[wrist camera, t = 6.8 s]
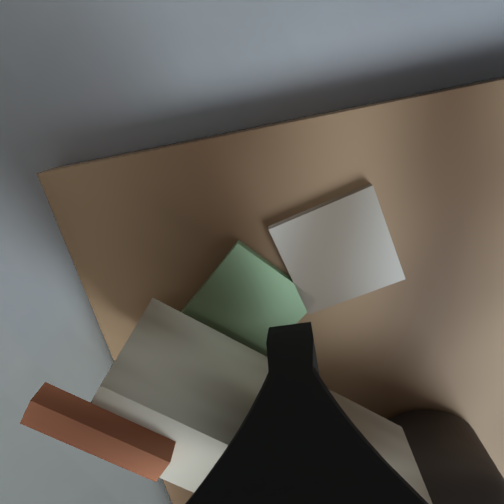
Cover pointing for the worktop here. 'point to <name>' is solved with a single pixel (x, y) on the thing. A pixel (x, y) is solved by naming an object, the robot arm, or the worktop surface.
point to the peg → (236, 415)
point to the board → (318, 246)
